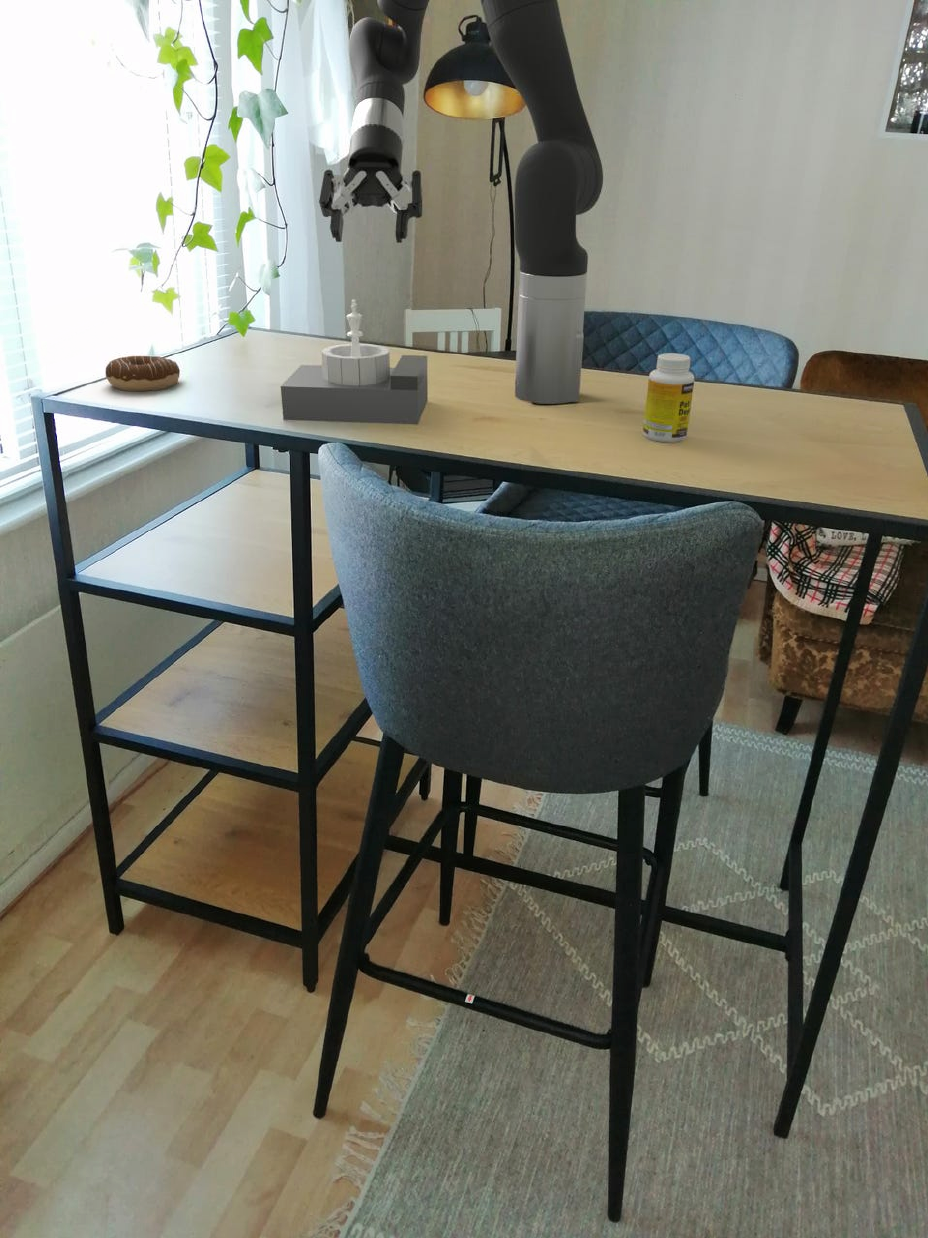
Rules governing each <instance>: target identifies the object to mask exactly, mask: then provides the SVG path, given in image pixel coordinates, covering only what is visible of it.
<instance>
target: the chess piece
mask: <svg viewBox="0 0 928 1238" xmlns="http://www.w3.org/2000/svg"><path fill="white" fill-rule="evenodd" d="M357 306H358V304H357V301H356V299H351V305H350V310H351V313H349V314H346V319H347V321H348V326H349V328H350V331H348V332H347V333H346V336H347V337H350V338H351V341H350V344H351V356H350V357H361V351H360V345H359V344H360V337H362V336H364V334H363V332H362V331H360V330H359V329H360V327H361V322H362V319H363V315H362V314H360V313H358V312H357V308H358V307H357Z"/></svg>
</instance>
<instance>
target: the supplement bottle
mask: <svg viewBox="0 0 928 1238" xmlns="http://www.w3.org/2000/svg"><path fill="white" fill-rule="evenodd" d="M690 368H691V357H690V355H688V354H683V353H677V352H676V353H675V352H673V353H672V352H671V353H669V352H667V353H661V354H658V356H657V361H656V369H653V370H652V371H650V373H649V376H648V383H647V391H646V392H647V393H646V403H645V412H644V420H643V427H642V428H643V429H642V430H643V433H642V434H643V435H644V437H646V438H647V439H649V440H651V441H654V442H658V443H678V442H681V441H683V440H685V439H686V437H687V435H688V429H689V423H690V415H691V409H692V408H691V406H692V400H693V393H694V386H695V385H694V384H695V375H694V374H693V372H691V371H690Z"/></svg>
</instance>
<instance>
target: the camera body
mask: <svg viewBox="0 0 928 1238" xmlns="http://www.w3.org/2000/svg"><path fill="white" fill-rule="evenodd" d="M359 345H360V351H361V357H350V356H351V343H347V344H346V343H345V344H337V345H331V346H327V347H325V348H324V349H323V350H322V351H321V365H319V364H317V365H316V364H315V365H313V364H301V365H299V367H298V368H297V369H296V370H295V371H294V372H293V373H292V374H291V375H290V376H289V377H288V378H287V379H286V380H285V381H284V382H283V383H282V384H281V385H280V393H281V404H282V405H281V407H282V417H283V419H282V420H283V421H301V422H302V421H303V422H305V421H306V422H307V421H308V422H310V421H311V422H332V423H333V422H335V423H339V422H340V423H365V424H391V425H392V424H393V425H397V424H398V425H419V422H420V420H421V417H422V415H423V413H424V410H425V408H426V405H427V403H428V401H429V400H428V399H429V398H428V394H429V393H428V389H429V388H428V355H418V354H417V355H413V354H402V356H401V357H400V359H399V360H398V362H397V363H396V366H395V367H391V359H390V358H391V357H390V349H389V348H387V347H385V346H383V345H376V344H371V343H359Z"/></svg>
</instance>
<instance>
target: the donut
mask: <svg viewBox="0 0 928 1238" xmlns="http://www.w3.org/2000/svg"><path fill="white" fill-rule="evenodd" d="M180 371H181V370H180V368H179V365H178V363H177V362H176V361H174V360H173V359H170V358H166V357H162V356H155V355H154V356H151V355H130V356H129V355H127V356H122V357H118V358H115V359H112V360H111V361H109V363H107V365H106V367H105V377H106V379H107V381H108V383H109V384H110V385H112V386H113V387H114V388H116V389H119V390H122V391H127V392H128V391H129V392H148V391H158V390H163V389H166V388H171V387H172V386H174V385H175V384H176V383H177V382H178V380H179V379H180V373H181V372H180Z"/></svg>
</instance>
